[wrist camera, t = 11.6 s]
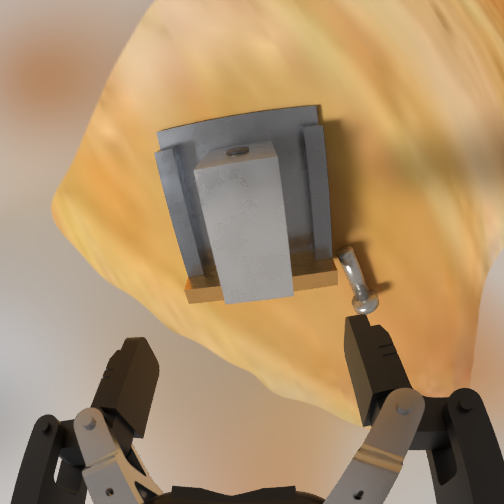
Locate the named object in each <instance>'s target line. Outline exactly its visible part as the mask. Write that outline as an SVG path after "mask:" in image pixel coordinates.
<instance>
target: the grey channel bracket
mask: <svg viewBox="0 0 504 504" xmlns="http://www.w3.org/2000/svg"><path fill="white" fill-rule="evenodd" d="M157 137H158V141H159V145H160V150H158V151H157V152H155V153H154V154H155V158H156V162H157V166H158V171H159V175H160V179H161V182H162V186H163V190H164V194H165V198H166V202H167V205H168V209H169V213H170V216H171V220H172V223H173V227H174V231H175V234H176V238H177V241H178V244H179V248H180V251H181V254H182V258H183V261H184V264H185V268H186V271H187V274H188V280H187V284H186V287H185V293H186V296H187V299H188V302H189V304H192V303H202V302H211V301H220V300H224V296H223V292H222V288H221V284H220V280H219V277H218V273H217V269H216V265H215V261H214V257H213V253H212V248H211V244H210V240H209V236H208V232H207V228H206V223H205V219H204V215H203V211H202V206H201V202H200V198H199V193H198V189H197V184H196V180H195V175H194V171H193V170H194V169H195V168H196V166H197V165H198V164H199V162H200V161H201V160H202V159H203V157H204V156H205V155H206V154H207V152H208V151H209V150H213V149H219V148H224V147H230V146H236V145H242V144H249V143H256V142H263V141H270V140H271V142H272V144H273V147H274V149H275V151H276V154H277V156H278V163H279V170H280V178H281V185H282V193H283V201H284V209H285V218H286V226H287V235H288V244H289V253H290V262H291V272H292V281H293V291H299V290H306V289H313V288H320V287H327V286H333V285H338V273H337V268H336V266H335V263H334V261H333V259H332V236H331V216H330V199H329V185H328V172H327V161H326V150H325V140H324V131H323V125H321V124H318V117H317V109H316V106H304V107H294V108H285V109H276V110H268V111H261V112H254V113H247V114H241V115H235V116H229V117H224V118H218V119H213V120H208V121H203V122H198V123H193V124H189V125H184V126H180V127H176V128H171V129H167V130H163V131H159V132H157Z"/></svg>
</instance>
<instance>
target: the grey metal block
mask: <svg viewBox="0 0 504 504" xmlns="http://www.w3.org/2000/svg"><path fill="white" fill-rule="evenodd" d="M193 171H194V175H195V180H196V184H197V189H198V193H199V198H200V202H201V206H202V211H203V215H204V219H205V223H206V228H207V232H208V236H209V240H210V244H211V248H212V253H213V257H214V261H215V265H216V269H217V273H218V277H219V280H220V284H221V288H222V292H223V296H224V300H225V304H233V303H242V302H251V301H259V300H267V299H275V298H282V297H290V296H294V292H293V281H292V272H291V262H290V253H289V244H288V235H287V226H286V218H285V209H284V201H283V193H282V185H281V178H280V170H279V163H278V156H277V154H276V151H275V149H274V147H273V144H272V142H271V140H270V141H263V142H256V143H249V144H242V145H236V146H230V147H224V148H219V149H213V150H209V151H208V152H207V154H206V155H205V156H204V157H203V159H202V160H201V161H200V162H199V164H198V165H197V166H196V168H195V169H194V170H193Z"/></svg>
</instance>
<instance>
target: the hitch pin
mask: <svg viewBox="0 0 504 504" xmlns="http://www.w3.org/2000/svg"><path fill="white" fill-rule="evenodd" d="M337 256H338V258H339V260H340V263H341V265H342V267H343V269H344V272H345V274H346V276H347V279H348V281H349V283H350V286H351V288H352V290H353V293H354V295H355V296H354V297H353V299H352V305H353V308H354V310H355V312H356V313H358V314H369V313H371V312H373V311H374V310H375V309H376V308H377V307H378V305H379V298H378V295H377V293H376V292H375V291H374V290H370V289H368V286H367V284H366V281H365V278H364V276H363V273H362V270H361V268H360V265H359V263H358V260H357V258H356V255H355V253H354V250H353V248H352V247H351V246H344V247H342V248H340V249H339V250H338V251H337Z"/></svg>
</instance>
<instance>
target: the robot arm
mask: <svg viewBox="0 0 504 504" xmlns="http://www.w3.org/2000/svg"><path fill="white" fill-rule="evenodd" d="M344 353H345V358H346V362H347V366H348V369H349V373H350V377H351V380H352V384H353V388H354V392H355V396H356V400H357V404H358V408H359V412H360V416H361V420H362V424H363V427H365V426H369V425H371V427H372V428H371V430H370V432H369V434H368V435H367V437H366V439H365V441H364V443H363V444H362V446H361V448H360V449H359V450H358V451H357V453H356V454H355V456H354V457H353V459H352V461H351V462H350V464H349V465H348V467H347V469H346V470H345V472H344V473H343V475H342V477H341V478H340V480H339V481H338V483H337V484H336V486H335V487H334V489H333V490H332V491H331V493H330V495H329V496H328V497H327V499H326V500H325V499H323V498H321V497H319V496H316V495H313V494H310V493H306V492H299V491H296V488H295V486H288V487H276V488H262V489H259V490H256V491H251V492H247V493H243V494H238V495H234V496H229V495H224V494H220V493H216V492H213V491H209V490H205V489H202V488H192V487H180V486H172V492H168V493H163V491H162V490H161V489H160V488H159V486H158V485H157V484H156V483H155V482H154V481H153V480H152V478H151V477H150V475H149V473H148V471H147V470H146V468H145V466H144V465H143V462H142V461H141V459H140V457H139V455H138V453H137V451H136V449H135V447H134V446H133V444H132V441H133V437H134V438H143V437H144V433H145V428H146V424H147V420H148V416H149V412H150V408H151V403H152V400H153V396H154V392H155V388H156V384H157V380H158V377H159V364H158V361H157V359H156V357H155V355H154V353H153V351H152V349H151V348H150V346H149V344H148V342H147V340H146V339H145V338H144V337H135V338H127V339H126V340H125V341H124V344H123V346H122V348H121V350H117V351H116V352H115V353H114V355H113V356H112V357H111V358H110V360H109V362H108V364H107V367H106V370H105V372H104V374H103V378H102V379H101V382H100V384H99V387H98V389H97V392H96V394H95V397H94V400H93V402H92V405H91V407H90V408H86V409H84V410H82V411H81V412H80V413H78V414H77V416H76V418H75V419H73V420H67V421H61V422H59V421H58V420H57V419H56V418H55V417H54V416H53V415H44V416H42V417H40V418H39V419H38V420H37V422H36V423H35V425H34V428H33V430H32V433H31V436H30V439H29V442H28V445H27V448H26V451H25V454H24V457H23V460H22V464H21V467H20V470H19V474H18V477H17V481H16V484H15V488H14V492H13V496H12V500H11V504H85V499H86V494H87V489H88V491H89V493H90V496H91V498H92V501H93V503H94V504H383V502H384V501H385V498H386V497H387V495H388V494H389V492H390V490H391V488H392V486H393V484H394V482H395V480H396V478H397V477H398V475H399V472H400V470H401V468H402V465H403V460H404V458H405V456H406V454H407V451H408V450H426V453H427V457H428V461H429V466H430V470H431V475H432V480H433V485H434V491H435V496H436V502H437V504H504V460H503V457H502V454H501V450H500V448H499V444H498V441H497V438H496V436H495V433H494V430H493V427H492V424H491V422H490V419H489V416H488V414H487V412H486V409H485V406H484V404H483V401H482V399H481V397H480V395H479V394H478V393H477V392H475V391H474V390H472V389H469V388H461V389H458V390H456V391H454V392H453V393H452V394H451V395H450V397H444V398H432V397H425V396H422V395H421V394H420V393H419V392H418V391H416V390H414V389H413V388H412V386H411V384H410V382H409V380H408V377H407V375H406V372H405V370H404V367H403V365H402V363H401V360H400V358H399V356H398V354H397V351H396V349H395V346H394V345H393V342H392V339H391V337H390V335H389V333H388V332H387V331H386V330H385V329H384V328H383V327H382V326H380V325H375V326H370V323H369V321H368V318H367V316H366V315H365V314H361V315H355V316H349V317H346V319H345V335H344ZM58 457H60V458H61V459H62V461H61V465H60V469H59V473H58V477H57V481H56V483H55V481H54V472H55V469H56V465H57V460H58Z"/></svg>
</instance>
